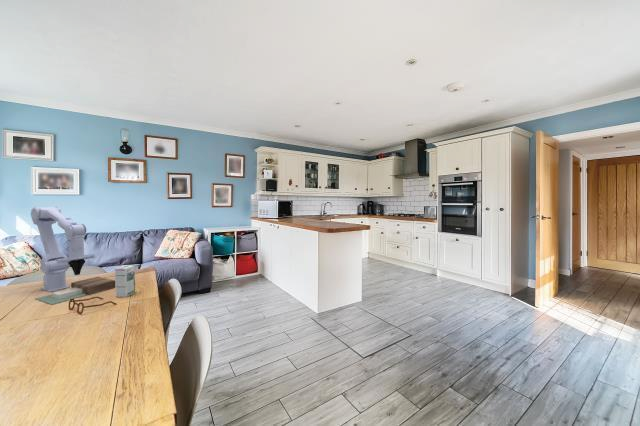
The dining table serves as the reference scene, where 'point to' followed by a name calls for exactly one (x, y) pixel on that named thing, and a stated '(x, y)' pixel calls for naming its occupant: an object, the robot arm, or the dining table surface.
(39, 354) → the dining table surface
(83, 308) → the glasses
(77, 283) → the plate
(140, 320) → the dining table surface
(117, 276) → the syrup box
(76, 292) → the flat white box
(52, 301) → the mat
